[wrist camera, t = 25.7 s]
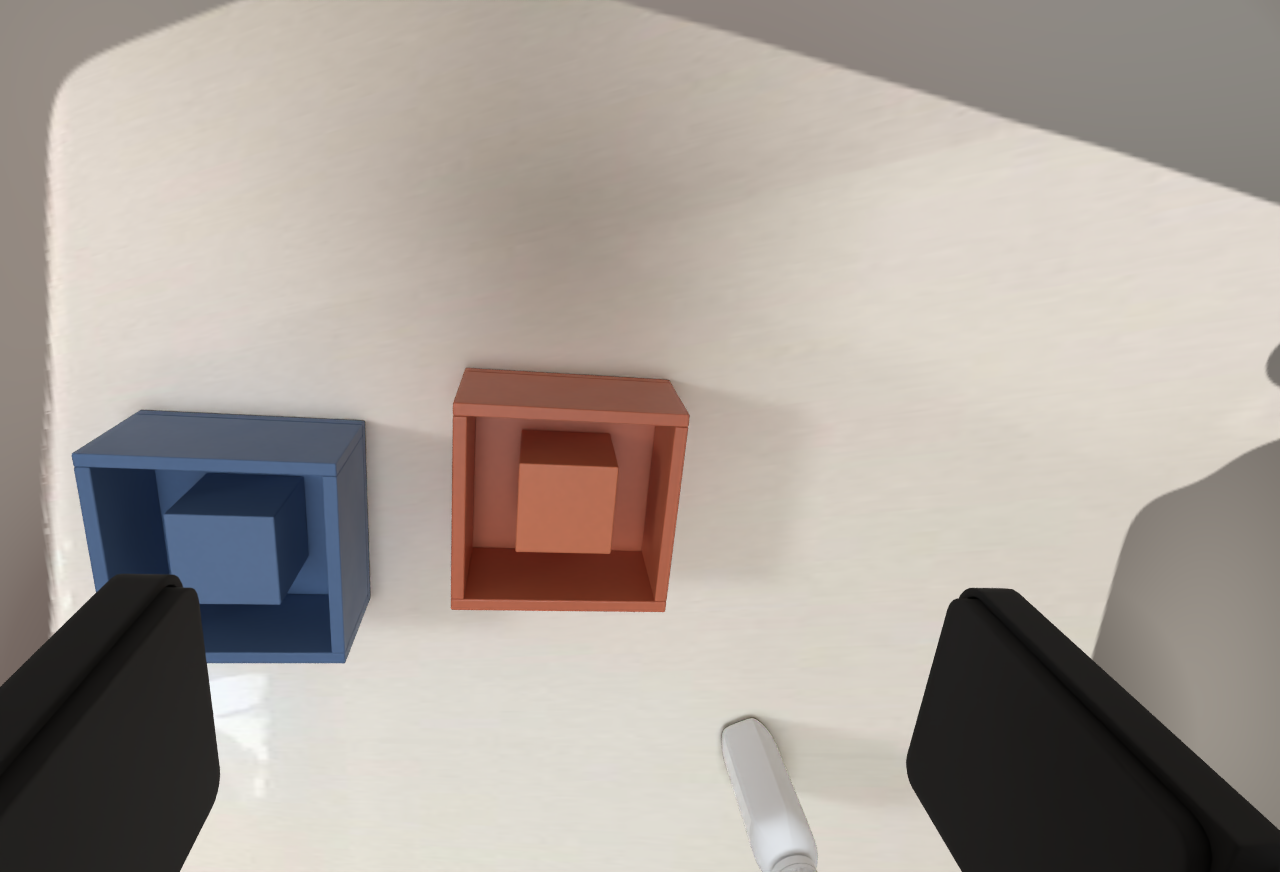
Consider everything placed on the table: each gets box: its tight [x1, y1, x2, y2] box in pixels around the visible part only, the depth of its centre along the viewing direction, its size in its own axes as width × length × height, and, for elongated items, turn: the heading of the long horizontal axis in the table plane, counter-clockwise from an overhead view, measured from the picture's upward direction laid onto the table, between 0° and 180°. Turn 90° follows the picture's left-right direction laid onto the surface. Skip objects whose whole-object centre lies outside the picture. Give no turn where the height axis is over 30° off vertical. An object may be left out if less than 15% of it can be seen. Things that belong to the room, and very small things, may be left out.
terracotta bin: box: [451, 368, 690, 612], centre depth 36 cm, size 10×10×6 cm
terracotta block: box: [515, 429, 619, 554], centre depth 36 cm, size 4×4×4 cm
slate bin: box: [72, 410, 370, 663], centre depth 35 cm, size 10×10×6 cm
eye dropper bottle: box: [722, 718, 818, 872], centre depth 42 cm, size 4×6×12 cm
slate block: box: [163, 473, 309, 605], centre depth 35 cm, size 4×4×4 cm
